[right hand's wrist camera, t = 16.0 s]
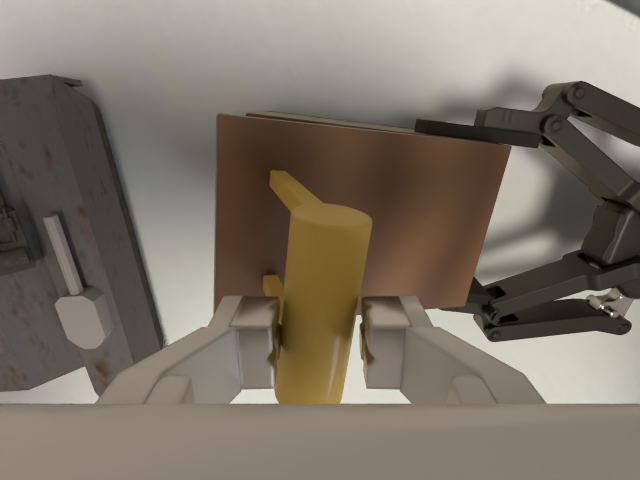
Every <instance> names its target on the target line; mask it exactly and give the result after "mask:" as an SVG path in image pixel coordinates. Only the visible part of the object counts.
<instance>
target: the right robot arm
mask: <svg viewBox="0 0 640 480" xmlns="http://www.w3.org/2000/svg"><path fill="white" fill-rule="evenodd" d="M360 311H361V317H362V323H361V324H360V353H361V359H362V360H363V361H364V366H363V371H364V377H365V382H366V388H367V389H400V392H401V393H402V394H403V395H404V396H405V397H406V398H407V399H408V400H409V401H410V402H411V403H412V404H229V403H230V402H231V401H232V400H233V399H234V398H235V397H236V396H237V395H238V394H239V393H240V392H241V389H274V388H275V383H276V377H277V371H278V366H277V360H279V359H280V352H281V324H280V323H279V316H280V299H279V297H278V296H242V295H241V296H224V297H223V298H222V300H221V302H220V304H219V306H218V308H217V310H216V312H215V314H214V316H213V317H212V319H211V321H210V323H209V325H208V327H201V328H200V329H198V330H196V331H194V332H192V333H190V334H189V335H187V336H185V337H183V338H181V339H180V340H178V341H176V342H174V343H172V344H171V345H169V346H167V347H165V348H163V349H162V350H160V351H158V352H156V353H154V354H152V355H151V356H149V357H147V358H145V359H143V360H142V361H140V362H138V363H136V364H134V365H133V366H131V367H129V368H127V369H125V370H124V371H122V372H120V373H118V374H117V376H116V377H115V378H114V379H113V381H112V382H111V383H110V385H109V386H108V387H107V389H106V390H105V391H104V392H103V394H102V395H101V396H100V398H99V399H98V400H97V401H96V403H95V404H0V480H640V404H547V403H546V402H545V401H544V399H543V398H542V397H541V395H540V394H539V393H538V392H537V390H536V389H535V388H534V386H533V385H532V384H531V383H530V381H529V380H528V379H527V377H526V376H525V375H524V374H523V373H521V372H519V371H518V370H516V369H514V368H512V367H510V366H509V365H507V364H505V363H503V362H501V361H499V360H498V359H496V358H494V357H492V356H490V355H489V354H487V353H485V352H483V351H481V350H480V349H478V348H476V347H474V346H472V345H471V344H469V343H467V342H465V341H463V340H462V339H460V338H458V337H456V336H454V335H452V334H451V333H449V332H447V331H445V330H443V329H442V328H440V327H433V325H432V323H431V321H430V319H429V317H428V316H427V314H426V312H425V310H424V308H423V306H422V304H421V303H420V301H419V299H418V297H417V296H415V295H412V296H368V297H362V298H361V309H360Z"/></svg>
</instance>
